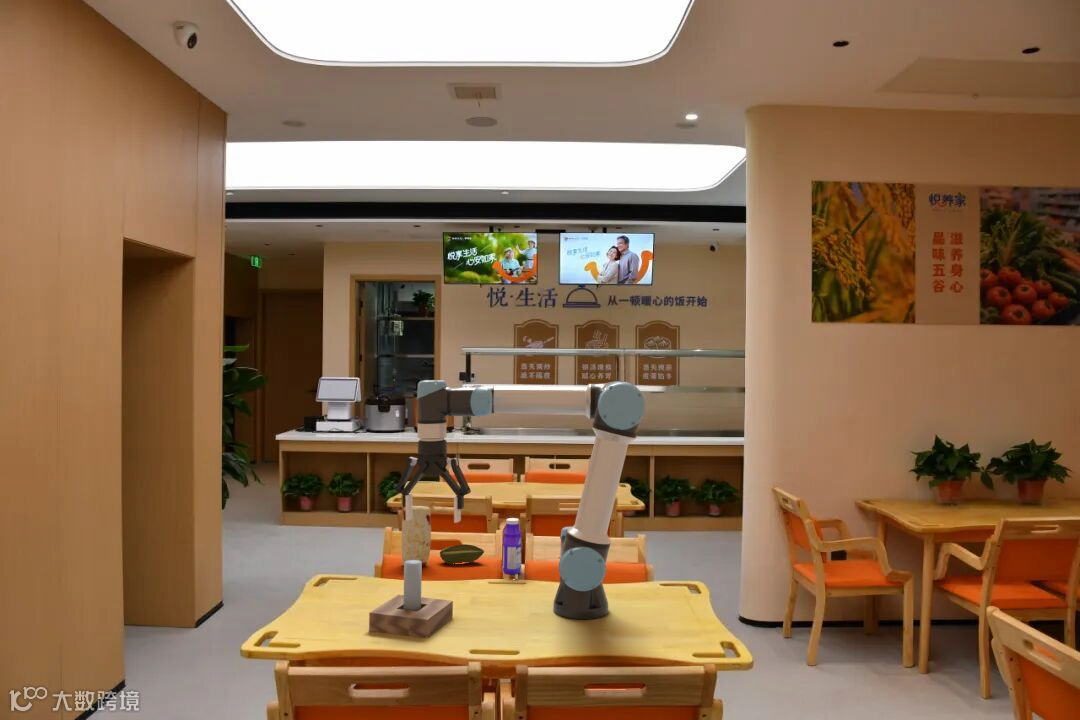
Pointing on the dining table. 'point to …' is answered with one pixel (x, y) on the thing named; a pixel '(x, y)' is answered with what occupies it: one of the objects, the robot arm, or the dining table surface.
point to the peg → (412, 585)
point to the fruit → (461, 553)
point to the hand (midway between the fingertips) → (433, 520)
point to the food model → (416, 535)
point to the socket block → (411, 617)
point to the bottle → (512, 547)
